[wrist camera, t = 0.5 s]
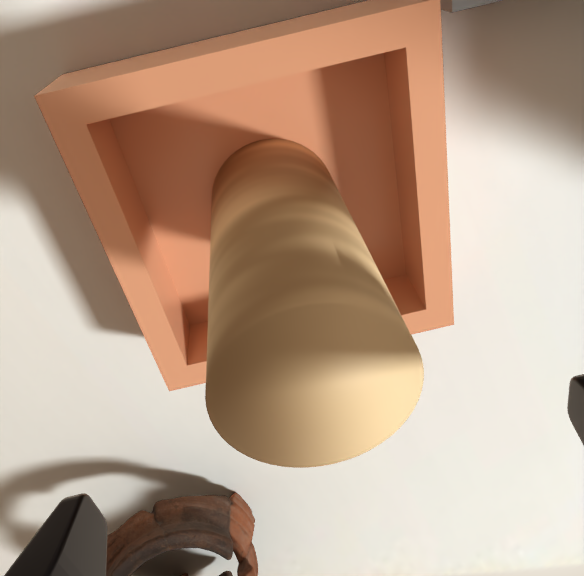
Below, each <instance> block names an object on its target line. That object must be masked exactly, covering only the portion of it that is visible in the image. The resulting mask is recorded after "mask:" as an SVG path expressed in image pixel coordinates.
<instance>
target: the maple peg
mask: <svg viewBox="0 0 584 576" xmlns="http://www.w3.org/2000/svg"><path fill="white" fill-rule="evenodd" d="M423 380H424V369H423V363H422V358H421V355H420V353H419V350H418V348H417V346H416V344H415V342H414V340H413V338H412V336H411V334H410V332H409V330H408V328H407V326H406V324H405V322H404V320H403V318H402V316H401V314H400V312H399V310H398V308H397V306H396V304H395V302H394V300H393V298H392V296H391V294H390V292H389V290H388V288H387V286H386V284H385V282H384V280H383V278H382V276H381V274H380V272H379V270H378V268H377V266H376V264H375V262H374V260H373V258H372V256H371V254H370V252H369V250H368V248H367V246H366V244H365V242H364V240H363V238H362V236H361V234H360V232H359V230H358V228H357V226H356V224H355V222H354V220H353V218H352V216H351V215H350V213H349V211H348V209H347V207H346V205H345V203H344V201H343V199H342V197H341V195H340V193H339V191H338V189H337V187H336V185H335V183H334V181H333V179H332V177H331V175H330V173H329V171H328V169H327V167H326V166H325V164H324V163H323V161H322V160H321V159H320V158H319V157H318V156H317V155H316V154H315V153H314V152H313V151H311V150H310V149H309V148H307V147H305V146H303V145H301V144H299V143H296V142H294V141H290V140H285V139H264V140H259V141H256V142H252V143H250V144H248V145H245V146H243V147H242V148H240V149H239V150H237V151H236V152H234V153H233V154H232V155H231V156H230V157H229V158H228V159H227V160H226V161H225V162H224V164H223V165H222V166H221V168H220V169H219V171H218V173H217V175H216V178H215V181H214V184H213V189H212V205H211V237H210V269H209V300H208V332H207V364H206V396H205V399H206V407H207V411H208V414H209V417H210V420H211V422H212V424H213V426H214V428H215V429H216V430H217V432H218V433H219V434H220V436H221V437H222V438H223V439H224V440H225V441H226V442H227V443H228V444H229V445H231V446H232V447H233V448H235V449H236V450H237V451H239V452H241V453H243V454H244V455H246V456H248V457H251V458H253V459H255V460H258V461H261V462H264V463H268V464H272V465H278V466H284V467H316V466H324V465H329V464H334V463H338V462H341V461H345V460H348V459H351V458H353V457H356V456H359V455H361V454H363V453H365V452H367V451H369V450H371V449H372V448H374V447H376V446H377V445H379V444H381V443H382V442H383V441H385V440H386V439H388V438H389V437H390V436H391V435H392V434H394V433H395V432H396V431H397V430H398V429H399V428H400V427H401V426H402V425H403V423H404V422H405V421H406V420H407V419H408V417H409V416H410V414H411V413H412V411H413V410H414V408H415V406H416V404H417V402H418V400H419V397H420V394H421V391H422V386H423Z"/></svg>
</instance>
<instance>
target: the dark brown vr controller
mask: <svg viewBox="0 0 584 576" xmlns="http://www.w3.org/2000/svg"><path fill="white" fill-rule="evenodd" d="M254 522H255V519H254V517H253V515H252V511H251V509H250V507H249V506H248V504H247V503H246V502H245V501H244V500H243V499H242V497H241V496H240V495H239V494H237V493H236V492H235V493H234V494H233V495H231V497H230V498H228V497H227V496H224V495H222V496H217V495H203V496H186V497H178V498H174V499H168V500H161V501H158V502H156V503H155V504H154V506H153V510H152V513H150V512H147V511H144V510H142V511H139V512H138V513H136V514H135V515H133V516H132V517H131V518H130V519H128V520H127V521H126V522H125V523H124V524H123V525H122V526H121V527H119V528H118V529H117V530H116V531H114V532H113V533H111V534H109V535H107V559H106V576H131V574H132V573H133V572H134V571H135V570H136V569H138V568H139V567H140V566H141V565H142V564H143V563H145V562H146V561H147V560H149V559H151V558H153V557H155V556H157V555H159V554H161V553H164V552H167V551H171V550H176V549H181V548H201V549H205V550H209V551H212V552H215V553H216V554H219V555H220V556H222V557H224V558H225V559H227V560H230V559H231V557H232V554H233V552H234V553H235V555H236V557H237V560H238V562H239V566H238V571H237V573H238V576H257V575H258V563H257V557H256V552H255V549H254V546H253V544H252V542H251V541H252V536H253V531H254ZM180 576H188V574H187V573H185V574H182V575H180ZM219 576H233V575H232V573H231V572H230V571H225V572H223V573H222V574H220V575H219Z"/></svg>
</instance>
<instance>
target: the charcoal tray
mask: <svg viewBox="0 0 584 576" xmlns="http://www.w3.org/2000/svg"><path fill="white" fill-rule="evenodd" d="M498 1H502V0H440V5H441V10H444V11H448V12H457V11H461V10H465V9H469V8H473V7H477V6H481V5H486V4H490V3H494V2H498Z"/></svg>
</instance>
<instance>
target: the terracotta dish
mask: <svg viewBox="0 0 584 576" xmlns="http://www.w3.org/2000/svg"><path fill="white" fill-rule="evenodd" d="M34 97H35V99H36V101H37V104H38V106H39V108H40V110H41V112H42V115H43V117H44V119H45V121H46V123H47V125H48V128H49V130H50V132H51V134H52V136H53V139H54V141H55V143H56V145H57V147H58V149H59V152H60V154H61V156H62V158H63V160H64V163H65V165H66V167H67V169H68V171H69V173H70V176H71V178H72V180H73V182H74V184H75V187H76V189H77V191H78V193H79V195H80V197H81V200H82V202H83V204H84V206H85V208H86V211H87V213H88V215H89V217H90V219H91V221H92V224H93V226H94V228H95V230H96V232H97V235H98V237H99V239H100V241H101V243H102V245H103V248H104V250H105V252H106V254H107V256H108V259H109V261H110V263H111V265H112V267H113V269H114V272H115V274H116V276H117V278H118V280H119V283H120V285H121V287H122V289H123V291H124V293H125V296H126V298H127V300H128V302H129V304H130V307H131V309H132V311H133V313H134V315H135V317H136V320H137V322H138V324H139V326H140V328H141V331H142V333H143V335H144V337H145V339H146V341H147V344H148V346H149V348H150V350H151V352H152V355H153V357H154V359H155V361H156V363H157V365H158V368H159V370H160V372H161V374H162V376H163V379H164V381H165V383H166V385H167V387H168V389H169V391H172V390H177V389H181V388H185V387H189V386H194V385H198V384H202V383H206V364H207V332H208V300H209V269H210V237H211V205H212V189H213V184H214V181H215V178H216V175H217V173H218V171H219V169H220V168H221V166H222V165H223V164H224V162H225V161H226V160H227V159H228V158H229V157H230V156H231V155H232V154H233V153H234V152H236V151H237V150H239V149H240V148H242V147H243V146H245V145H248V144H250V143H252V142H256V141H259V140H264V139H285V140H290V141H294V142H296V143H299V144H301V145H303V146H305V147H307V148H309V149H310V150H311V151H313V152H314V153H315V154H316V155H317V156H318V157H319V158H320V159H321V160H322V161H323V163H324V164H325V166H326V167H327V169H328V171H329V173H330V175H331V177H332V179H333V181H334V183H335V185H336V187H337V189H338V191H339V193H340V195H341V197H342V199H343V201H344V203H345V205H346V207H347V209H348V211H349V213H350V215H351V216H352V218H353V220H354V222H355V224H356V226H357V228H358V230H359V232H360V234H361V236H362V238H363V240H364V242H365V244H366V246H367V248H368V250H369V252H370V254H371V256H372V258H373V260H374V262H375V264H376V266H377V268H378V270H379V272H380V274H381V276H382V278H383V280H384V282H385V284H386V286H387V288H388V290H389V292H390V294H391V296H392V298H393V300H394V302H395V304H396V306H397V308H398V310H399V312H400V314H401V316H402V318H403V320H404V322H405V324H406V326H407V328H408V330H409V332H410V334H415V333H420V332H424V331H428V330H433V329H437V328H441V327H445V326H450V325H454V315H453V291H452V267H451V243H450V220H449V196H448V172H447V148H446V124H445V100H444V77H443V53H442V29H441V5H440V0H367V1H363V2H359V3H355V4H351V5H347V6H342V7H338V8H334V9H330V10H326V11H322V12H318V13H314V14H309V15H305V16H301V17H297V18H293V19H289V20H285V21H281V22H276V23H272V24H268V25H264V26H260V27H256V28H252V29H248V30H243V31H239V32H235V33H231V34H227V35H223V36H219V37H214V38H210V39H206V40H202V41H198V42H194V43H190V44H186V45H181V46H177V47H173V48H169V49H165V50H161V51H157V52H153V53H148V54H144V55H140V56H136V57H132V58H128V59H124V60H120V61H115V62H111V63H107V64H103V65H99V66H95V67H91V68H87V69H82V70H78V71H74V72H70V73H66V74H62V75H61V76H60V77H58V78H57V79H56V80H54V81H53V82H52V83H50V84H49V85H48V86H46V87H45V88H44V89H43V90H41V91H40V92H39V93H37V94H36V95H35V96H34Z"/></svg>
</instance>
